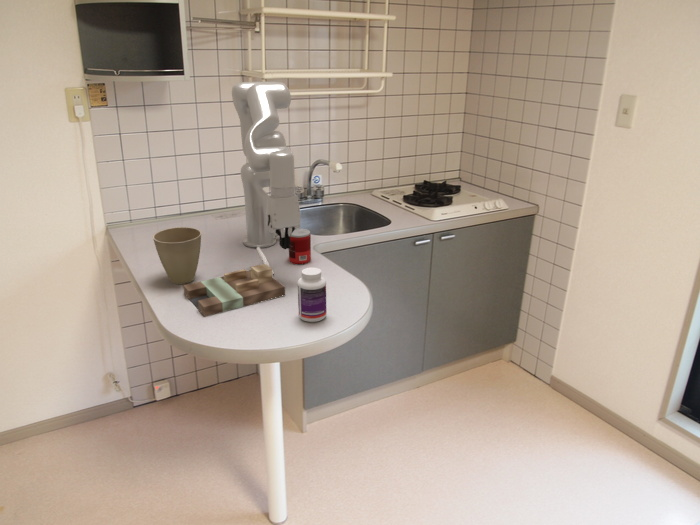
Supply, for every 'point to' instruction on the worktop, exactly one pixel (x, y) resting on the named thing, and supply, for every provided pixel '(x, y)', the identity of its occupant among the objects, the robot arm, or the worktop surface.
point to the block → (261, 273)
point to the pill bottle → (312, 295)
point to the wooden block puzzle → (231, 292)
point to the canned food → (300, 246)
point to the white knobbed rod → (263, 257)
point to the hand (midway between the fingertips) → (285, 247)
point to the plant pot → (179, 252)
